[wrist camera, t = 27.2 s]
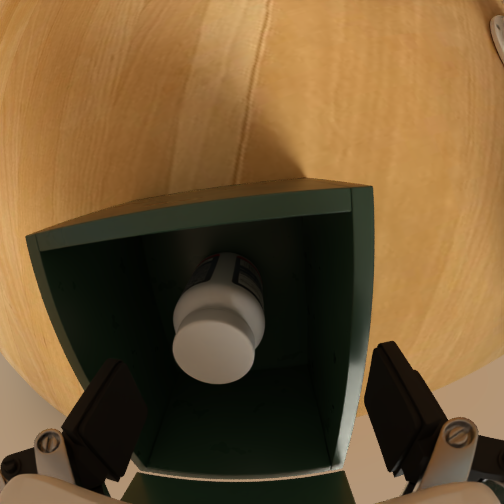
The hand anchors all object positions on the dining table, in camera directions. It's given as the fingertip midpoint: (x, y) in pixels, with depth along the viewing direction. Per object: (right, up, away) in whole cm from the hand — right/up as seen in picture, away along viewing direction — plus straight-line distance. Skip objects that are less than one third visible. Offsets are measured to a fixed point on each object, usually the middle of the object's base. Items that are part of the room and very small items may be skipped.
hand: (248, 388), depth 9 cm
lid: (-1, -9, -5) cm, 11 cm away
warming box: (-2, +2, +13) cm, 13 cm away
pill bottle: (-2, +3, +12) cm, 12 cm away
